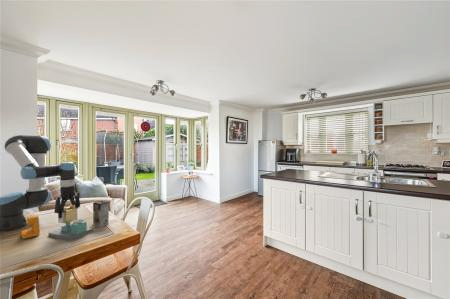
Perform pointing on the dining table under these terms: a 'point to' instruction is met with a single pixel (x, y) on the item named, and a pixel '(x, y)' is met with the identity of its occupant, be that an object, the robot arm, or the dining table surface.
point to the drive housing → (72, 230)
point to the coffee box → (100, 213)
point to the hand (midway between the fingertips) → (68, 220)
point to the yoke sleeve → (69, 214)
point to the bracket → (35, 227)
